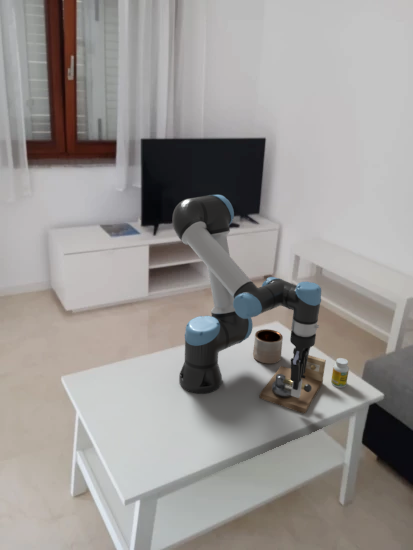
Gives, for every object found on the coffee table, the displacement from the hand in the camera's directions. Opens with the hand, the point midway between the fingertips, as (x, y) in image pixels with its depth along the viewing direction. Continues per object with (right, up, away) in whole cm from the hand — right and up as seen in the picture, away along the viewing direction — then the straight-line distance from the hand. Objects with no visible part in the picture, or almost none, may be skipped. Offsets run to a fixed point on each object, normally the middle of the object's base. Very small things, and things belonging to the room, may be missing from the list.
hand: (295, 395), depth 154 cm
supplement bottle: (+19, 0, +16) cm, 25 cm away
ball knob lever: (0, -1, +6) cm, 6 cm away
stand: (+1, -1, +11) cm, 11 cm away
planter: (-5, +7, +32) cm, 33 cm away
